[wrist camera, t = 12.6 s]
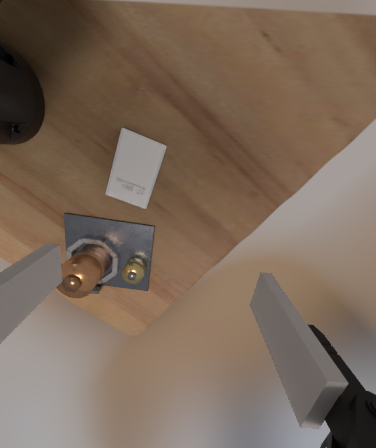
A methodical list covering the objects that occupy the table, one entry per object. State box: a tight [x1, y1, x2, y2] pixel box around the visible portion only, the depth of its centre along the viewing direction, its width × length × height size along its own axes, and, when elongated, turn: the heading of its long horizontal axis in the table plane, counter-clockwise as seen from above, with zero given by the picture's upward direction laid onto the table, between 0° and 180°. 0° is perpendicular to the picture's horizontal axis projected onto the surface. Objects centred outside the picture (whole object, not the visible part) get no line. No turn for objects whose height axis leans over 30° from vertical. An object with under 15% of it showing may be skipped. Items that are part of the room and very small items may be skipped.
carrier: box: [64, 213, 155, 294], centre depth 40 cm, size 18×16×4 cm
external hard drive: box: [105, 127, 167, 209], centre depth 36 cm, size 2×8×12 cm
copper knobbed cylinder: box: [57, 245, 111, 298], centre depth 38 cm, size 7×7×9 cm
